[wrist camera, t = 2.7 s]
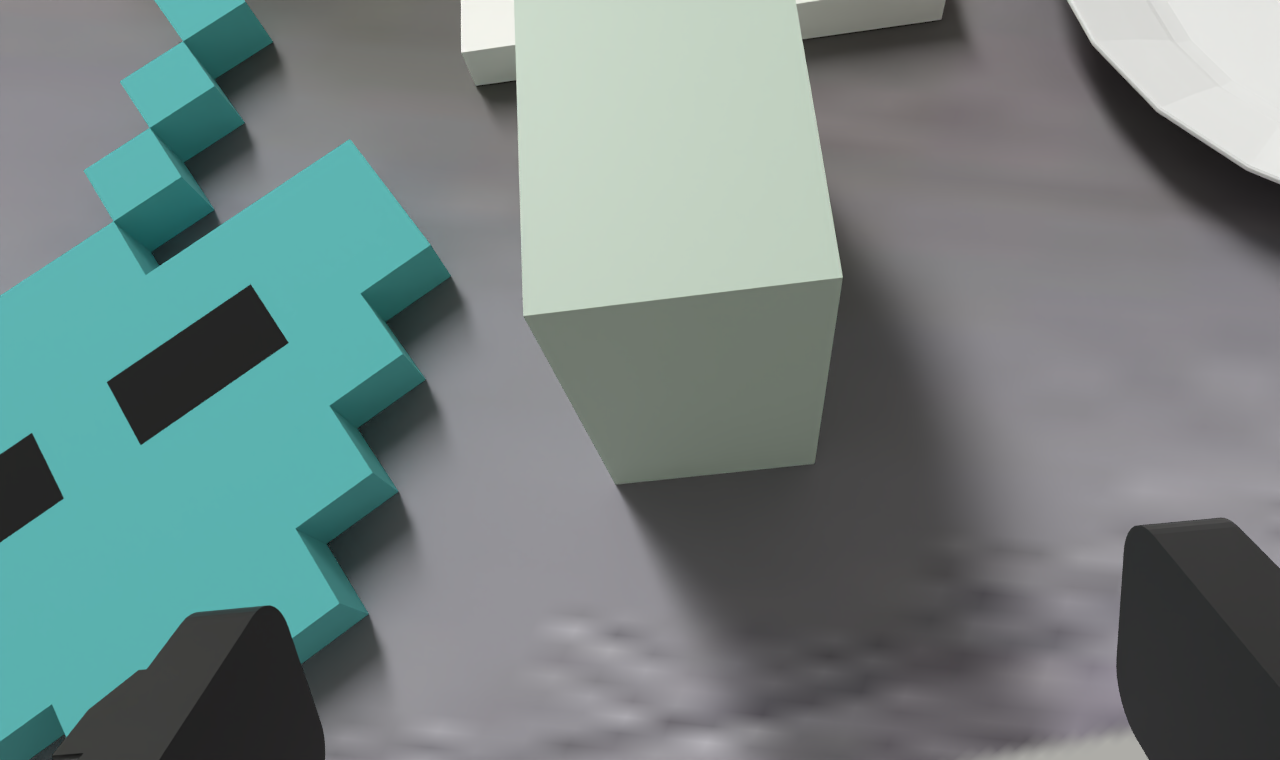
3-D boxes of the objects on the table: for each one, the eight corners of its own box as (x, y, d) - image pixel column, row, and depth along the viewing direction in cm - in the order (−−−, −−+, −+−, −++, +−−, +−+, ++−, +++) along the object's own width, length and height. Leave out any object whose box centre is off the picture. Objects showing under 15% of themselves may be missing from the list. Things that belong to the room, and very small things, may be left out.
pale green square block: (615, 484, 25) (523, 315, 15) (594, 154, 28) (509, -142, 19) (814, 464, 24) (842, 277, 15) (765, 131, 28) (764, -183, 19)
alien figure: (-299, 360, 30) (-97, 968, 23) (-377, 330, 28) (-183, 988, 21) (249, 11, 33) (588, 458, 25) (214, -39, 31) (572, 431, 23)
